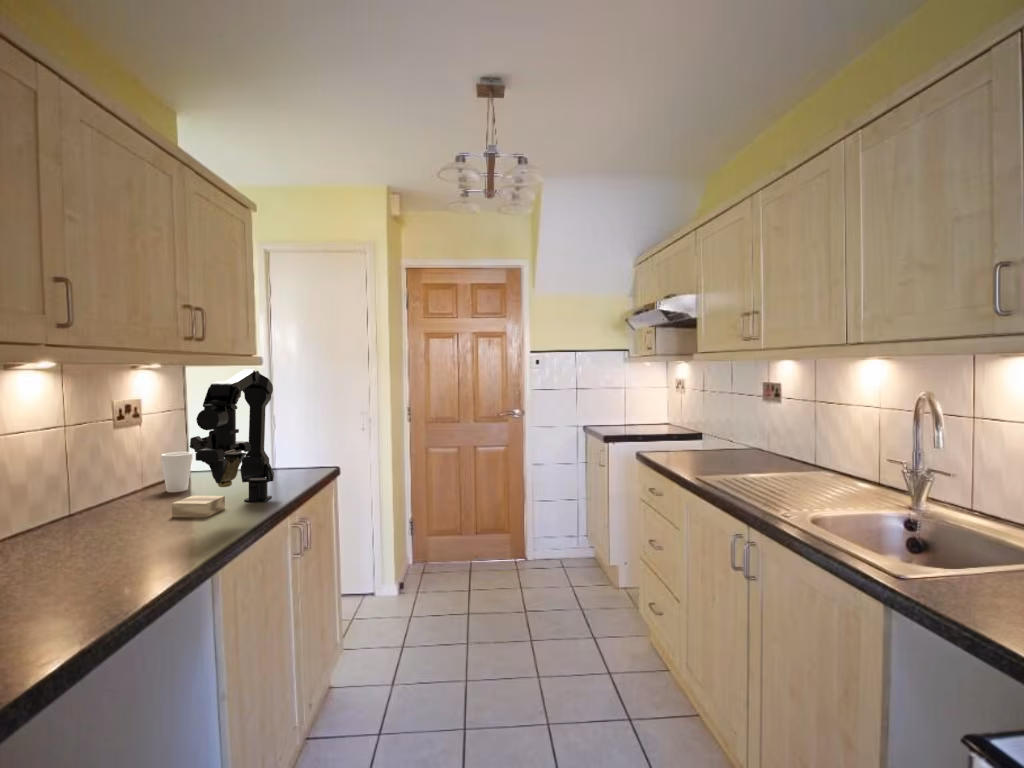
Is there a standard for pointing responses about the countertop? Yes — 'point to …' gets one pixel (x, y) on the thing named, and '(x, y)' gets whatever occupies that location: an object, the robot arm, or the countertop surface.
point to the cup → (229, 472)
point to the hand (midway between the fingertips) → (224, 480)
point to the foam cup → (176, 470)
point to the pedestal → (198, 506)
